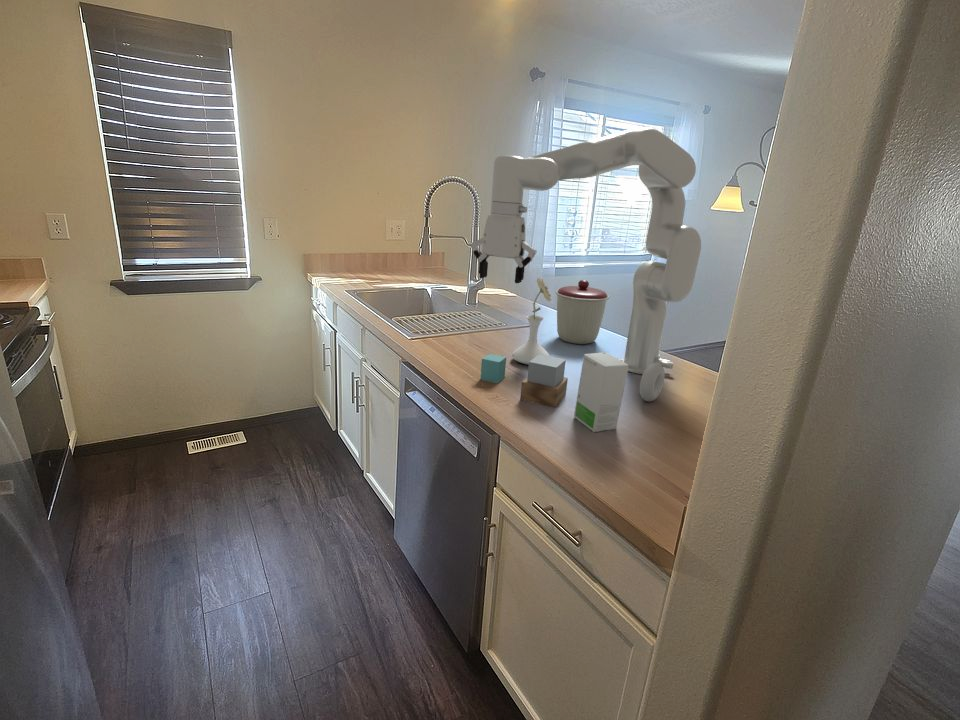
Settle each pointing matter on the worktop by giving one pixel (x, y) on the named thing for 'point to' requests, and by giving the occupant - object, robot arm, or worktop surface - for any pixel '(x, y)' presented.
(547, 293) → the flower in vase
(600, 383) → the skincare box
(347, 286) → the worktop surface
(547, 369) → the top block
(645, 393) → the donut
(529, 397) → the base block
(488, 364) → the teal block
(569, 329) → the canister
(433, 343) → the worktop surface
